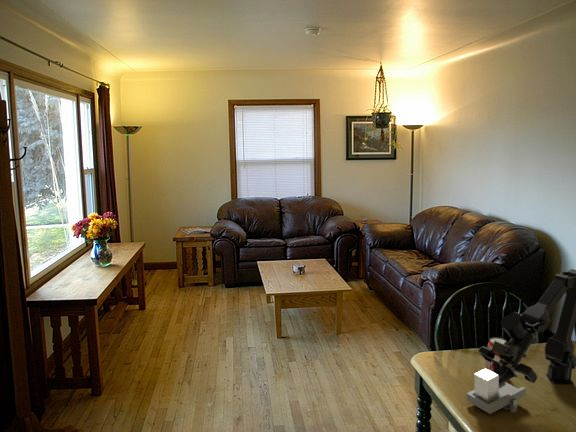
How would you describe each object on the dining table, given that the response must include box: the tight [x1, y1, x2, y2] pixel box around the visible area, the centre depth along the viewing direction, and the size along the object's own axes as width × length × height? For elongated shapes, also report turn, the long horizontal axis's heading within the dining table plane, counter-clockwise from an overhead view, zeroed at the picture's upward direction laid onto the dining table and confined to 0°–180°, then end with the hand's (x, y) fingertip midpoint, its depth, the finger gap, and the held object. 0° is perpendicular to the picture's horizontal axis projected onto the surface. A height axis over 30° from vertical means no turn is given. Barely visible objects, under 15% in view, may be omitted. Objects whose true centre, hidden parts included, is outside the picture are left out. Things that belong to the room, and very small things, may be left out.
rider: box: [474, 367, 499, 404], centre depth 159 cm, size 5×5×9 cm
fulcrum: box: [501, 399, 519, 414], centre depth 163 cm, size 3×12×4 cm, turn 29°
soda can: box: [485, 337, 507, 372], centre depth 183 cm, size 7×7×12 cm
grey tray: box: [466, 381, 526, 415], centre depth 162 cm, size 16×9×3 cm, turn 118°
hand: (492, 385), depth 160 cm, fingers closed, pressing on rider
